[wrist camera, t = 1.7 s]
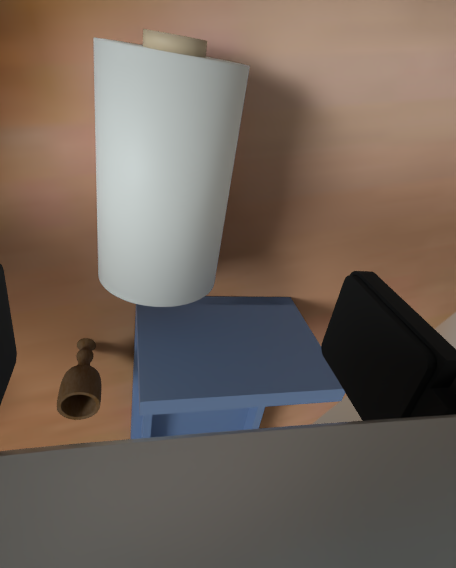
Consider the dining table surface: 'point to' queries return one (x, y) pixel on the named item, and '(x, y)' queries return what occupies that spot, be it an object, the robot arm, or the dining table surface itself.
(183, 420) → the holder
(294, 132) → the dining table surface
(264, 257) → the dining table surface
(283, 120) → the dining table surface
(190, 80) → the roll
